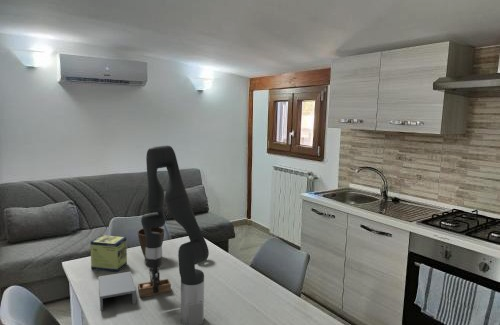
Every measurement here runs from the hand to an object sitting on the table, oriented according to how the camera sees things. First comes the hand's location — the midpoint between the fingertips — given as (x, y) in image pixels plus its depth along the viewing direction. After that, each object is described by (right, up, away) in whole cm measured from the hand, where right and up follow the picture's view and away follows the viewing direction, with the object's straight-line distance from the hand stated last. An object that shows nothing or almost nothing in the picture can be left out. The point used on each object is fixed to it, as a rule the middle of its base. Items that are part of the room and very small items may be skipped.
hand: (154, 288), depth 164 cm
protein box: (-32, +2, +27) cm, 42 cm away
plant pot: (-13, +3, +40) cm, 42 cm away
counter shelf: (-16, -2, -4) cm, 17 cm away
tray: (0, -2, 0) cm, 2 cm away
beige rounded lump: (-3, -2, -1) cm, 4 cm away
